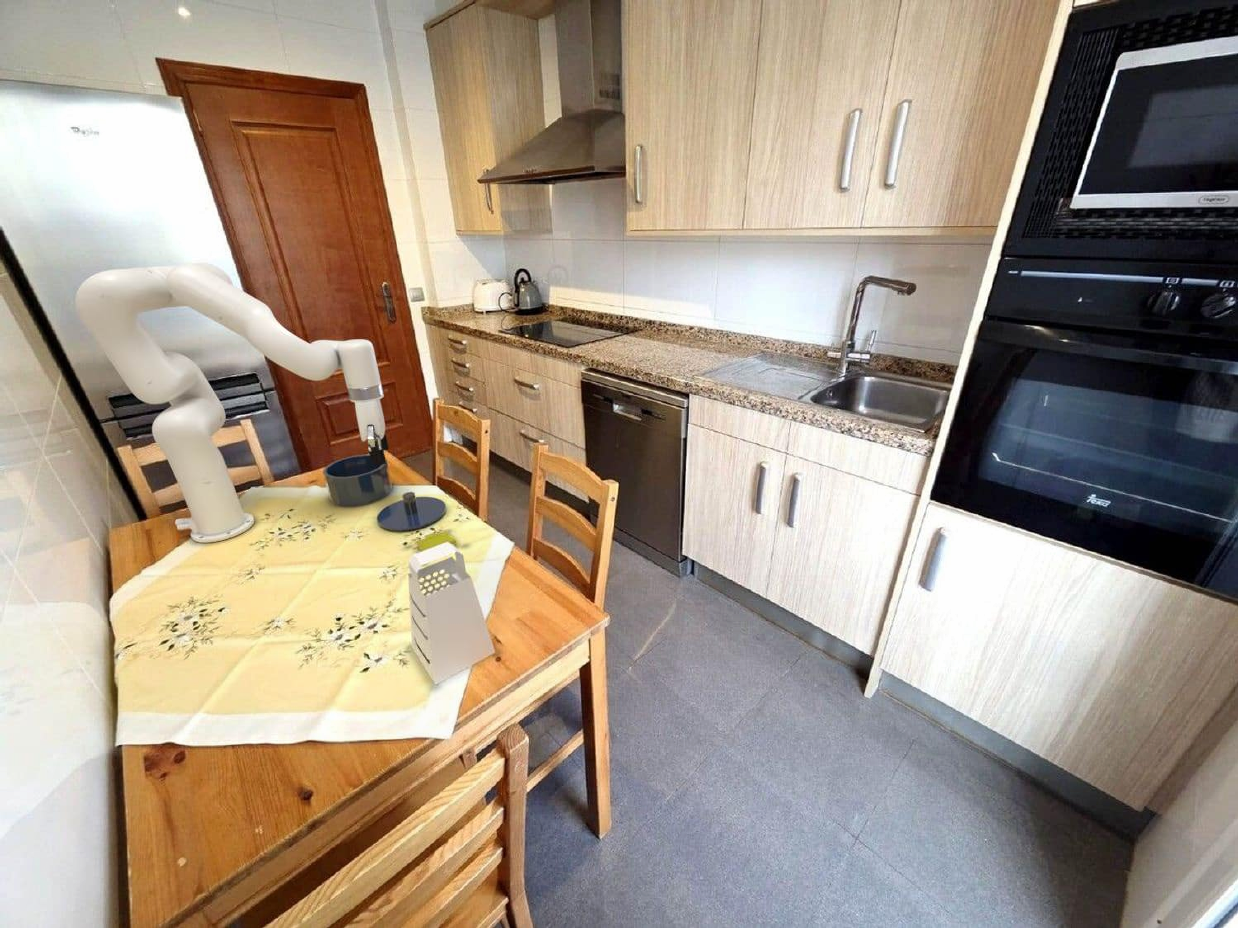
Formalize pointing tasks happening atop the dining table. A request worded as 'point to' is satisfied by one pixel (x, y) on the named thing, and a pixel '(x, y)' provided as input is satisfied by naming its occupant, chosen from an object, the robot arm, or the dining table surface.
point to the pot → (357, 481)
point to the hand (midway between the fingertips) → (380, 457)
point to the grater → (446, 615)
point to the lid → (411, 512)
